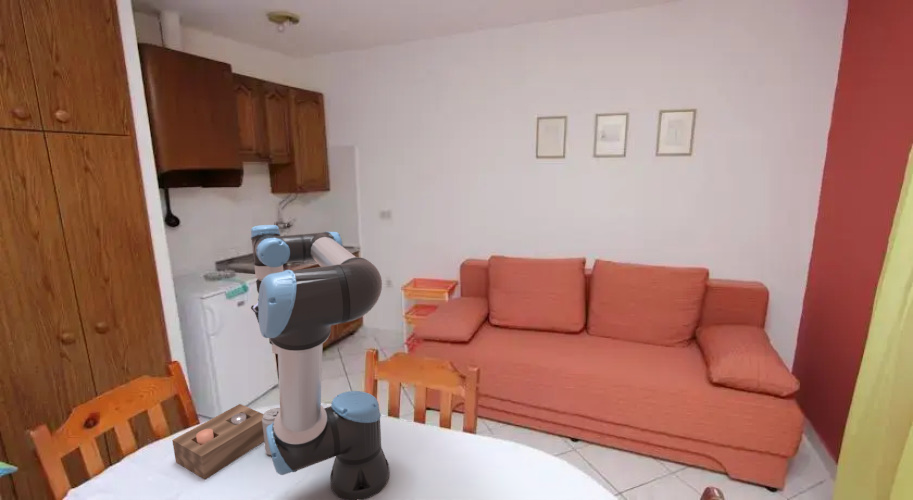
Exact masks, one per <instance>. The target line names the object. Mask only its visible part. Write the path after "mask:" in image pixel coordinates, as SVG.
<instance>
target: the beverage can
mask: <svg viewBox="0 0 913 500" xmlns="http://www.w3.org/2000/svg"><path fill="white" fill-rule="evenodd" d="M279 411H280V407H273V408H270V409H268V410H266V411H265V412H264V413H262V414H263V418H262V425H263V433H264V450H265V453H266V454H267V455H269V456H272V455H271V452H270V448H269V443H268V438H267V433H266V428H267V426H269V425H271V424H272V423H274V420H275V417H276V415H277V414H278V413H279Z"/></svg>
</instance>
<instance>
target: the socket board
mask: <svg viewBox="0 0 913 500" xmlns="http://www.w3.org/2000/svg"><path fill="white" fill-rule="evenodd" d="M238 413H245V414H246V420H245V421H243V422H241V423H239V424H238V425H234V424H232V422H231V418H232V416H234V415H236V414H238ZM263 414H264V413H262V412H260V411H258V410H255V409H253V408H250V407H248V406H246V405H243V404H241V403H238V404H236V405H235V406H233V407H232V408H229V409H227V410H226V411H224V412H222V413H221V414H218V415H216V416H214V417H212V418H210V419H209V420H207V421H205V422H203V423H201V424H200V425H197V426H195V427H194V428H192V429H190V430H187V432H184V433H183V434H180V435H179V436H177V437H176V438H173V439H172V446H173V451H174V459H175V463H177V464H179V465H180V466H182V467H183V468H184V469H187V470H188V471H190V472H192V473H194V474H195V475H196V476H198V477H199V478H201V479H203V480H207V479H208V478H210V477H211V476H213V475H214V474H216V473H217V472H219V471H221V470H222V469H224V468H225V467H227V466H229V465H230V464H232V463H233V462H234V461H237V460H238V459H239V458H241V457H242V456H244V455H245V454H247V453H249V451H251V450H253V449H254V448H256V447H257V446H259V445H260V444H262V443H263V442H264V433H263V425H262V418H263ZM204 429H212V430H213V435H214V438H213V439H212V440H210V441H208V442H206V443H205V444H203V445H200V444H198V443H197V438H196V434H197V433H198V432H200V431H202V430H204ZM264 443H265V442H264Z"/></svg>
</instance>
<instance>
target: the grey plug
mask: <svg viewBox="0 0 913 500" xmlns="http://www.w3.org/2000/svg"><path fill="white" fill-rule="evenodd" d="M245 420H246V414H245V413H238V414H236V415H234V416H232V418H231V422H232V424H234V425H238V424H239V423H241V422H243V421H245Z"/></svg>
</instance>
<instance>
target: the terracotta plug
mask: <svg viewBox="0 0 913 500" xmlns="http://www.w3.org/2000/svg"><path fill="white" fill-rule="evenodd" d="M196 438H197V443H198V444H200V445H203V444H205V443H206V442H208V441H210V440H212V439H213V438H214V435H213V430H212V429H204V430H202V431H200V432H198V433H197V434H196Z"/></svg>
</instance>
